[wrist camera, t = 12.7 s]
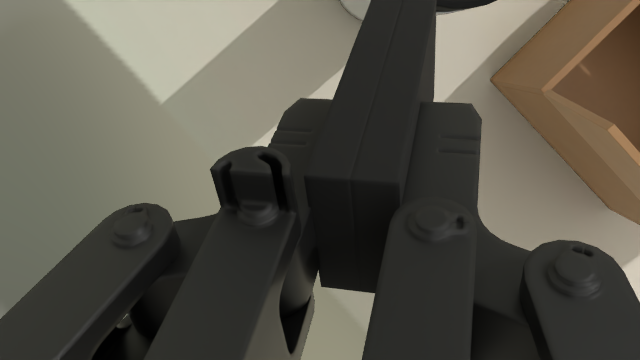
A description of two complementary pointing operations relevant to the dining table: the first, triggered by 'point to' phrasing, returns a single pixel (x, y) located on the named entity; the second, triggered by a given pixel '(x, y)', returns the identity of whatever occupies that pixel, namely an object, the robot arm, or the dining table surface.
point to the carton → (583, 86)
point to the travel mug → (358, 4)
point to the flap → (602, 140)
